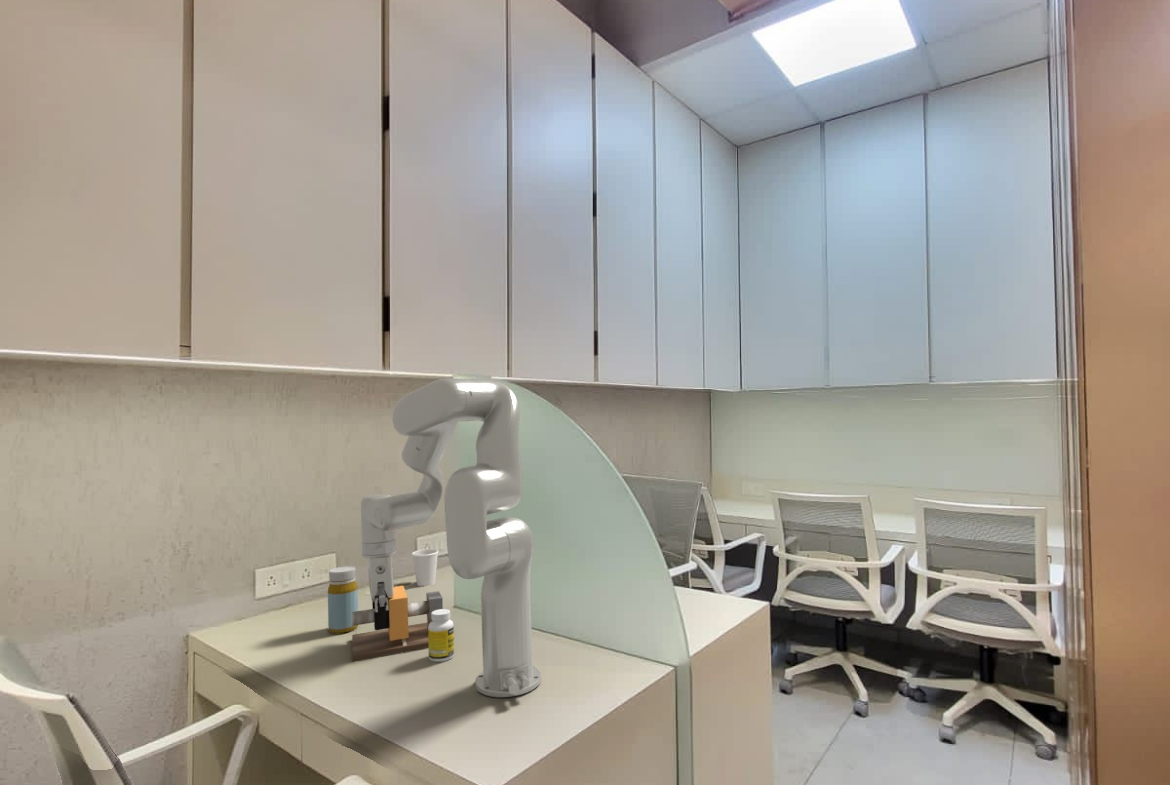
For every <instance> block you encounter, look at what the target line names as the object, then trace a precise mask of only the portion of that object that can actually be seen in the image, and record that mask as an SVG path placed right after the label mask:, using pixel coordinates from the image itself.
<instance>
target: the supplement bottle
mask: <svg viewBox="0 0 1170 785" xmlns="http://www.w3.org/2000/svg"><path fill="white" fill-rule="evenodd" d="M431 618H432V620H433V621H432V622H431V623H430V624H429V626H428V643H429V648H428V659H429V661H431V662H435V663H440V662H446V661H449V660H451V659H452V658H454V655H455V631H454V630H455V629H454V626H455V625H454V621H452V619H450V618H451V610H450V609H447V608H443V609H439V610H435V611H433V612H432V613H431Z"/></svg>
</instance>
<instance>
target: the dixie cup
mask: <svg viewBox="0 0 1170 785" xmlns="http://www.w3.org/2000/svg"><path fill="white" fill-rule="evenodd" d="M438 554H439V550H438V549H433V548H430V549H429V548H428V549H426V548H425V549H419V550H415V551H413V552H412V553H411V556H412V562H413V568H414V575H415V581H416V586H418V587H427V586H433V585H435V584H436V577H437V568H438V566H437V565H438Z"/></svg>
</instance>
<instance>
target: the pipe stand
mask: <svg viewBox="0 0 1170 785" xmlns="http://www.w3.org/2000/svg"><path fill="white" fill-rule="evenodd" d="M425 595H426V600H424V601H423V600H422V601H416V602H411V603H408V618H411V617H416V616H423V615H426V621H427V622H422V623H421V622H420V623H416V624H410V625H409V624H408V634H409V638H404V639H398V640H393V641H390V638H389V632H388V629H382V630H374V631H369V632H368V631H365V632H361V633H355V634H351V637H352V638H351V642H352V643H351V644H352V645H351V646H352V648H351V650H352V652H351V653H352V654H351V655H352V662H357V661H363V660H369V659H374V657H375V658H379V656H381V657H385V656H391V654H392V655H396V654H395V653H397V654H402V653H401V652H403V653H408V652H414V651H418V649H419V650H423V649H424V648H425V649H429V643H428V626H429V624H430V623H431V622H432V621H433V620H432V618H431V613H432V612H433V611H435V610H439V609H444V605H443V604H444V603H443V601H444V600H443V596H442V594H441V593H440V591H439V590H437V591H431V592H426V594H425ZM374 612H375V609H373V608H370V609H364V610H358V611H356V612H352V626H355V625H358V626H360V625H366V624H373V623H374ZM413 650H414V651H413ZM407 651H408V652H407Z"/></svg>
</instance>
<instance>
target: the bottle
mask: <svg viewBox="0 0 1170 785" xmlns="http://www.w3.org/2000/svg"><path fill="white" fill-rule="evenodd" d="M356 571H357V570H356V566H353V565H345V566H339V567H334V568H332V569H330V570H329V572H328V575H329V576H328V579H329V585H328V588H327V611H328V612H327V616H328V617H327V619H328V631H329V632H330V633H331V632H332V633H331V634H334V633H342V634H345V633H344V632H347V633H350V632H349V631H351V632H353V631H355V630H356V629H357V628H358V626H359V625H355V626H352V612H356V611H359V589H358V583H357V581H356V578H357V577H356ZM354 629H355V630H354ZM352 630H353V631H352Z"/></svg>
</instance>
